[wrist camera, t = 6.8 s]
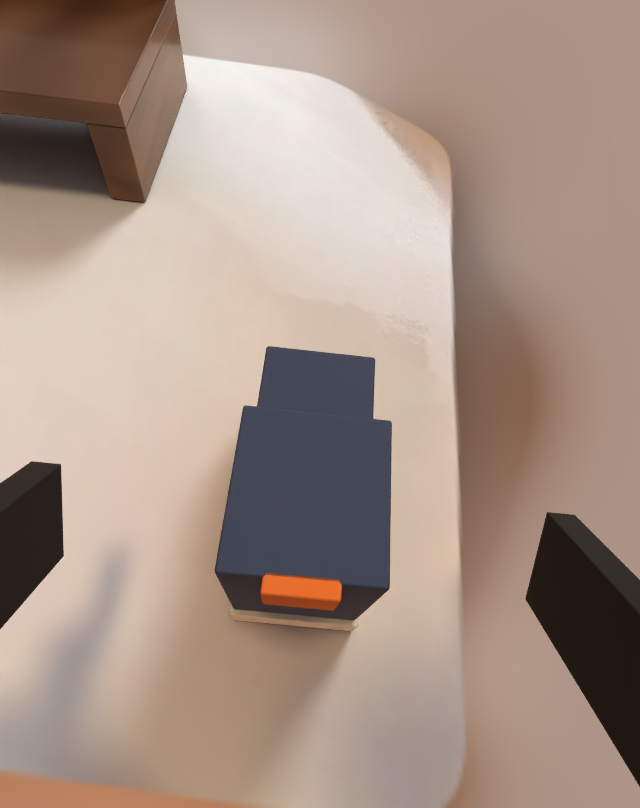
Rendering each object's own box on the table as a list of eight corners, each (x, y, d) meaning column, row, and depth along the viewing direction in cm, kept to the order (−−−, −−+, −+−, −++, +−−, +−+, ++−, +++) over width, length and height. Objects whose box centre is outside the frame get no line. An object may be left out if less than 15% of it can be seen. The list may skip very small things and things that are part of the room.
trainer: (352, 637, 20) (394, 607, 13) (231, 625, 20) (206, 589, 13) (362, 404, 25) (396, 291, 18) (266, 394, 25) (263, 276, 18)
